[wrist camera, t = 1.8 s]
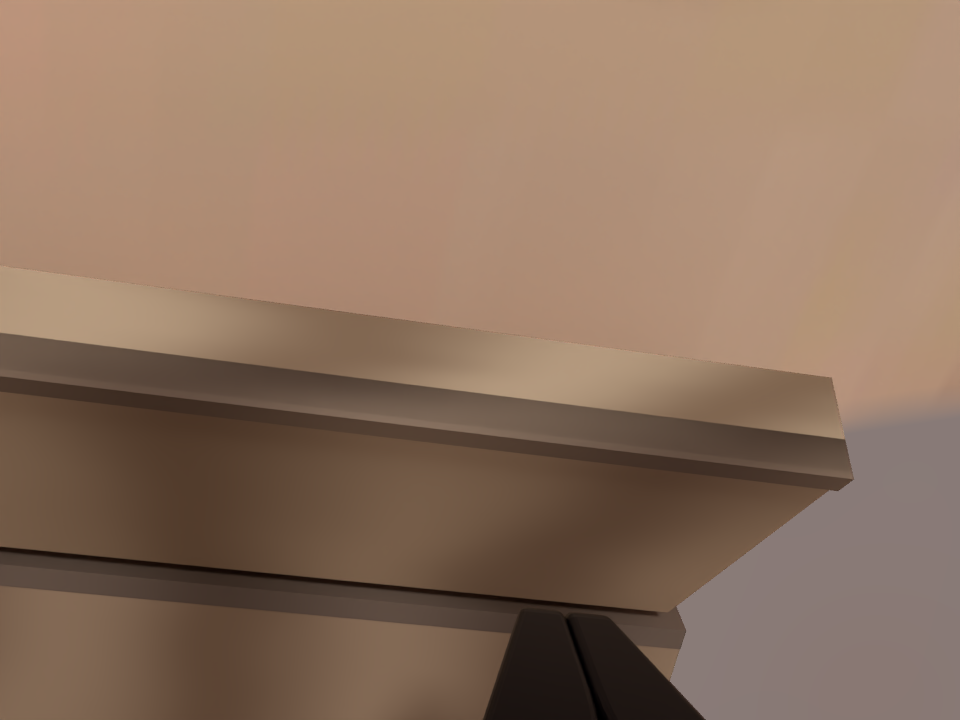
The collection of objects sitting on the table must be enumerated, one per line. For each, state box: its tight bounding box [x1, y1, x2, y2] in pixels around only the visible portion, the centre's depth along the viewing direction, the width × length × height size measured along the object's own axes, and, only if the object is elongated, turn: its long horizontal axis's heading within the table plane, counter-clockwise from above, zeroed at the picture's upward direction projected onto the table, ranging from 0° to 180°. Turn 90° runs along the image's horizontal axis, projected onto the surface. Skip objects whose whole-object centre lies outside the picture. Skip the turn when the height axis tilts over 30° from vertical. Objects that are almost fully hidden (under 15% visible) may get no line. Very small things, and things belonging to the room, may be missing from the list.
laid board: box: [0, 547, 686, 720], centre depth 18 cm, size 18×7×2 cm, turn 81°
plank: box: [0, 266, 854, 613], centre depth 13 cm, size 17×7×2 cm
